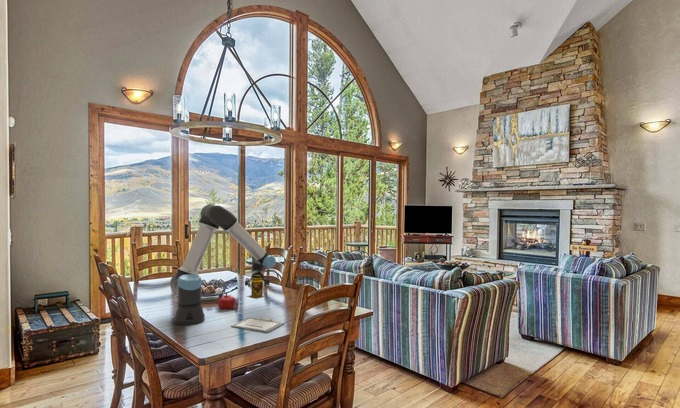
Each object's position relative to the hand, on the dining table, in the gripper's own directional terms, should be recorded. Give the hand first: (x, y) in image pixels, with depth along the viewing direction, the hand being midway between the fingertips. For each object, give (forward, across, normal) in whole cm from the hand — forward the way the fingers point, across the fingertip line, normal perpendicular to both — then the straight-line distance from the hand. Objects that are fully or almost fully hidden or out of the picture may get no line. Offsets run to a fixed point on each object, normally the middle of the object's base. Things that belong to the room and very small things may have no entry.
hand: (257, 285), depth 209 cm
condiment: (-5, 0, -7) cm, 9 cm away
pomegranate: (-24, +18, -18) cm, 35 cm away
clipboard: (+11, -1, -18) cm, 21 cm away
